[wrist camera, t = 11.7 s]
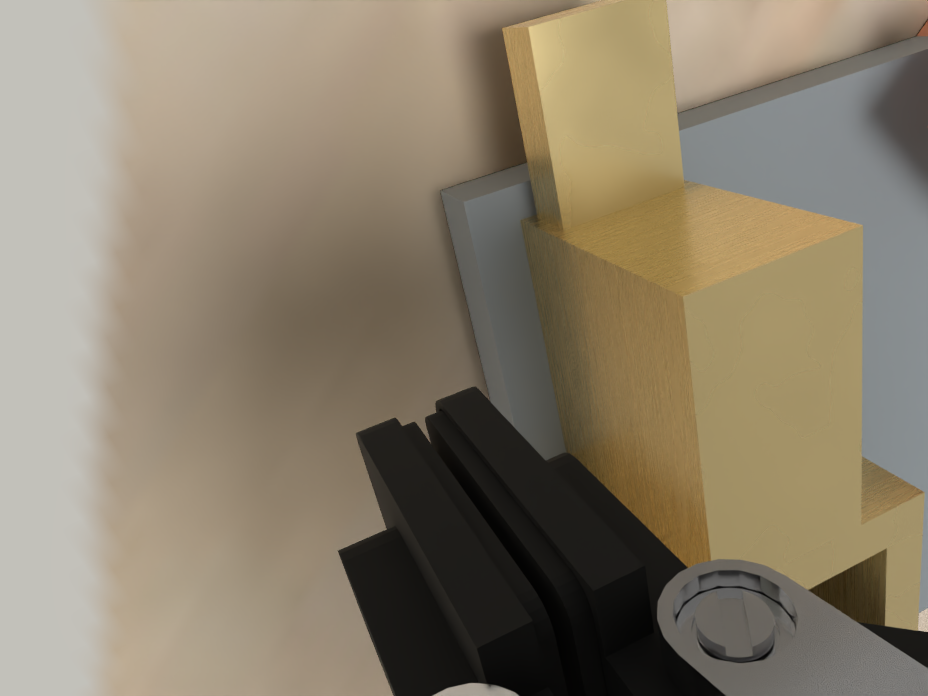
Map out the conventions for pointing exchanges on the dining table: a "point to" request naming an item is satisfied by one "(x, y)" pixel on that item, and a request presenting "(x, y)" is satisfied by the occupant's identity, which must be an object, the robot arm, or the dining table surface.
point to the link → (700, 328)
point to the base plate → (772, 179)
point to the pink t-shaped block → (924, 31)
